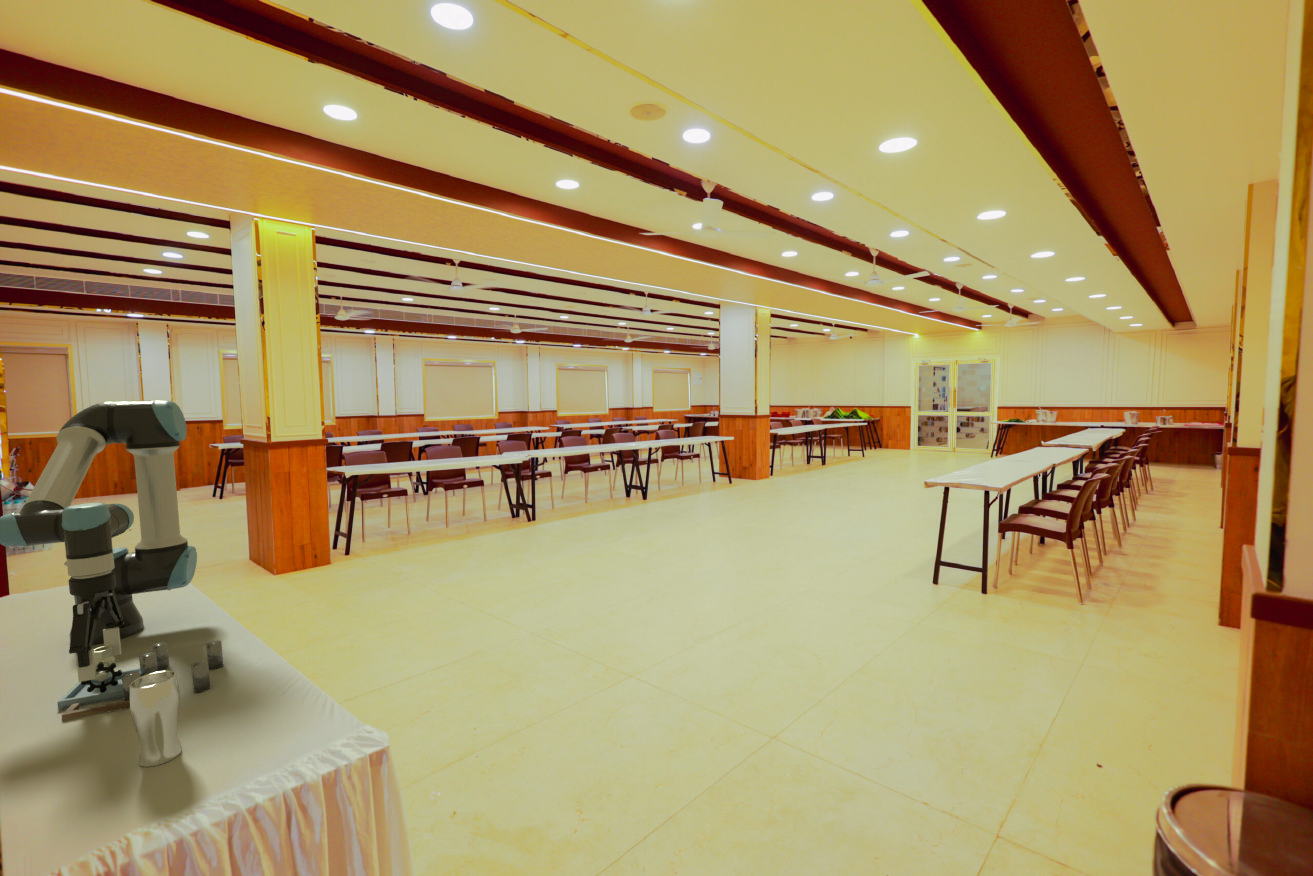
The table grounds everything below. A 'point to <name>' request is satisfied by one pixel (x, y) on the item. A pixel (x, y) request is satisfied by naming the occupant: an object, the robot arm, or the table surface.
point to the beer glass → (156, 716)
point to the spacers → (160, 662)
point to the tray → (93, 693)
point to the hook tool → (93, 709)
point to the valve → (103, 669)
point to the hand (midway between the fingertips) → (101, 667)
